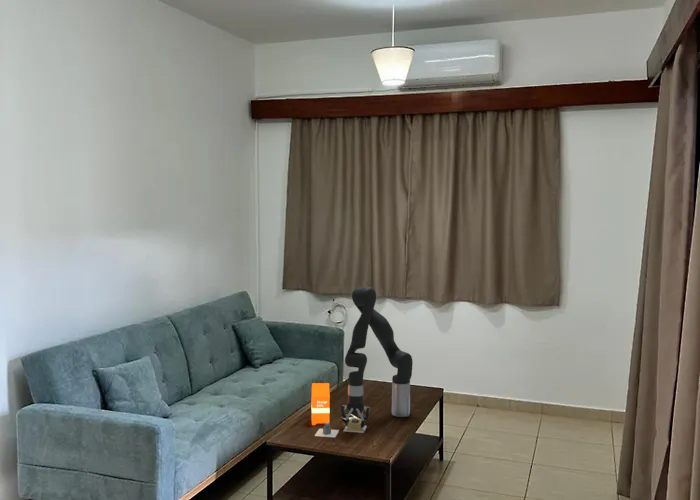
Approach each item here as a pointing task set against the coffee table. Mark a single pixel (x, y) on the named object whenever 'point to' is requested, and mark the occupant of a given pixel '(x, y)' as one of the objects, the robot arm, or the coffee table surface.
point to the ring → (354, 425)
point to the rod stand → (355, 431)
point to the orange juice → (320, 403)
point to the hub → (327, 431)
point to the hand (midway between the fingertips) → (355, 427)
